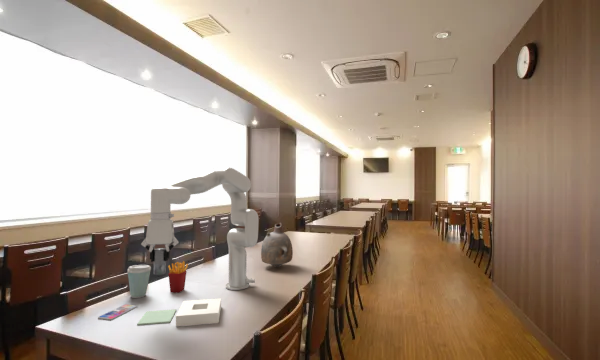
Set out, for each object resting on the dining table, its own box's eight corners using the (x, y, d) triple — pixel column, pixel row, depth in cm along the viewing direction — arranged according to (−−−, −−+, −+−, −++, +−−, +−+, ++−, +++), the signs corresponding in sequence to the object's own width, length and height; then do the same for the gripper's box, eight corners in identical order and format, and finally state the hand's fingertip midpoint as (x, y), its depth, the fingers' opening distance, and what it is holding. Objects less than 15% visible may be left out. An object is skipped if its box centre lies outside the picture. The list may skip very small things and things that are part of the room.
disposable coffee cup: (134, 292, 155) (135, 262, 155) (155, 292, 155) (155, 263, 155) (121, 299, 144) (122, 268, 145) (143, 300, 144) (144, 268, 144)
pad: (176, 310, 131) (176, 309, 131) (169, 322, 119) (169, 321, 119) (146, 312, 129) (146, 311, 129) (137, 325, 117) (137, 323, 117)
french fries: (179, 293, 152) (179, 264, 153) (164, 292, 154) (165, 263, 155) (189, 288, 161) (189, 260, 162) (175, 287, 163) (175, 259, 163)
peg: (166, 271, 127) (167, 248, 128) (164, 274, 123) (164, 250, 123) (155, 272, 126) (155, 248, 127) (152, 275, 122) (152, 250, 122)
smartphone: (138, 305, 136) (111, 319, 121) (138, 307, 136) (111, 321, 121) (125, 303, 138) (96, 317, 123) (125, 305, 138) (96, 319, 123)
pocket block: (221, 307, 135) (221, 298, 135) (218, 322, 119) (218, 312, 119) (183, 310, 132) (183, 300, 132) (175, 326, 116) (175, 316, 116)
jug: (252, 268, 202) (253, 223, 203) (273, 261, 220) (273, 220, 221) (281, 273, 188) (281, 225, 189) (300, 266, 206) (300, 222, 207)
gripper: (183, 215, 131) (182, 257, 130) (141, 216, 127) (140, 259, 127) (180, 217, 123) (179, 262, 123) (135, 218, 120) (134, 264, 119)
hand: (159, 260), depth 125 cm, fingers closed on peg, 4 cm apart
